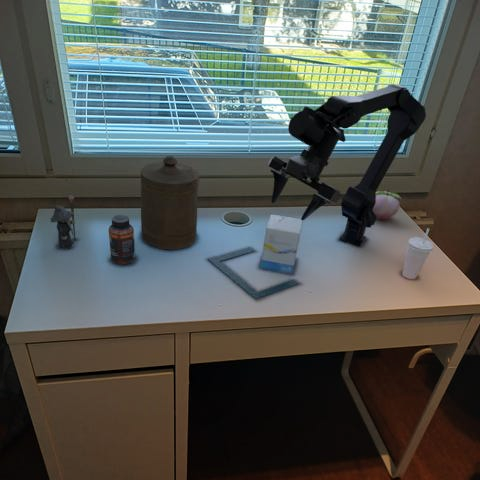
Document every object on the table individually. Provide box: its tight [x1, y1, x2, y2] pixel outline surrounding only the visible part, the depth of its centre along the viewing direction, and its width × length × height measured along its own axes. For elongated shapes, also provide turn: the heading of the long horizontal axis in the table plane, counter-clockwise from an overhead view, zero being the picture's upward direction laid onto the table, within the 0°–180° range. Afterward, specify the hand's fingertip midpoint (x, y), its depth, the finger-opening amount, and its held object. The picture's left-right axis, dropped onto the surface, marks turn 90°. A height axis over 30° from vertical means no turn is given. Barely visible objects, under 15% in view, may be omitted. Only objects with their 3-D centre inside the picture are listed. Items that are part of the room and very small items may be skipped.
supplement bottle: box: [108, 214, 136, 266], centre depth 115 cm, size 6×6×11 cm
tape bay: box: [207, 247, 299, 300], centre depth 120 cm, size 14×20×1 cm
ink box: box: [260, 214, 304, 275], centre depth 121 cm, size 9×8×12 cm
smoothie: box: [401, 227, 434, 280], centre depth 122 cm, size 6×6×14 cm
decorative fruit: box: [373, 189, 403, 220], centre depth 150 cm, size 9×8×10 cm
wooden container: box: [140, 155, 200, 250], centre depth 123 cm, size 15×15×22 cm
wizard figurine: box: [49, 194, 76, 250], centre depth 118 cm, size 8×6×12 cm
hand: (287, 211), depth 117 cm, fingers open, 9 cm apart
